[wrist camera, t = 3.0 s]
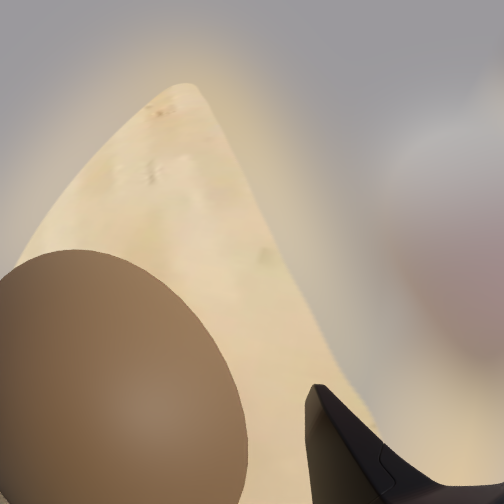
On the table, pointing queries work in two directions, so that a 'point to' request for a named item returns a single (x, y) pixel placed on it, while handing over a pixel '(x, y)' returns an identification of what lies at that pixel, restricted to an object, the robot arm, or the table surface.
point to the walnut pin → (112, 390)
